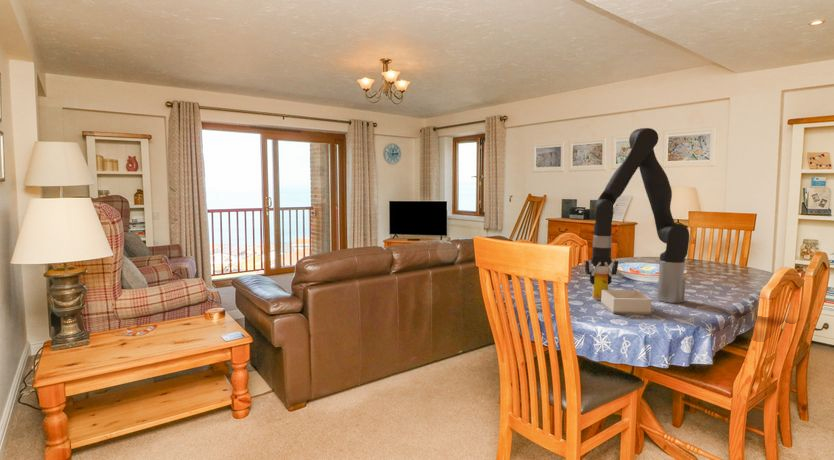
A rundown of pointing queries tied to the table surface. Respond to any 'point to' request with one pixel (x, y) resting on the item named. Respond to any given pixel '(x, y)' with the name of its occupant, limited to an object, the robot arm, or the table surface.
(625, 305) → the box
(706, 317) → the table surface
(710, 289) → the table surface
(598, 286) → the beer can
